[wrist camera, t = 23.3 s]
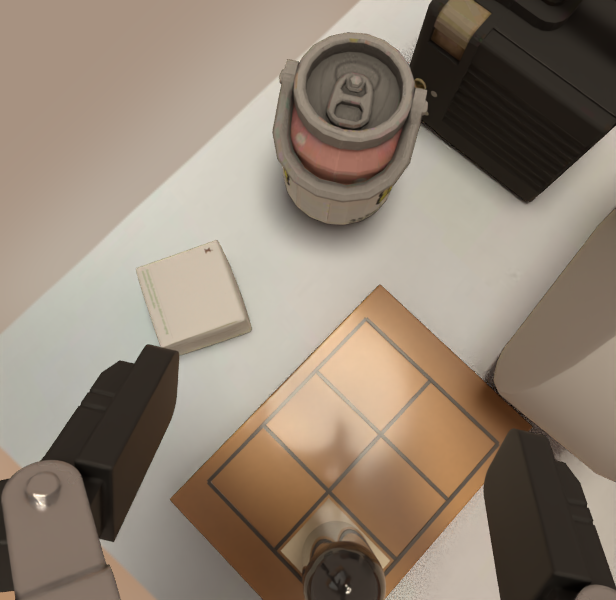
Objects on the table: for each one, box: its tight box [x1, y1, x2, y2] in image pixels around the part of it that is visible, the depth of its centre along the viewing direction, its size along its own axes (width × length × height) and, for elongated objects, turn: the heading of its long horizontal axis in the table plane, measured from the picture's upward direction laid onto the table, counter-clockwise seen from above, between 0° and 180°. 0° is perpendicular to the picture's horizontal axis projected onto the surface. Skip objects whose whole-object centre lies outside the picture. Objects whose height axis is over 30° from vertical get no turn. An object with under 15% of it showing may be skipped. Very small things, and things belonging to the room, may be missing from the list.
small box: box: [136, 240, 252, 356], centre depth 37 cm, size 6×6×5 cm
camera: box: [410, 0, 616, 202], centre depth 36 cm, size 11×14×15 cm
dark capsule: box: [301, 521, 386, 600], centre depth 31 cm, size 4×4×8 cm
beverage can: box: [273, 32, 428, 225], centre depth 36 cm, size 9×8×12 cm
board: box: [170, 285, 532, 600], centre depth 37 cm, size 20×14×1 cm
